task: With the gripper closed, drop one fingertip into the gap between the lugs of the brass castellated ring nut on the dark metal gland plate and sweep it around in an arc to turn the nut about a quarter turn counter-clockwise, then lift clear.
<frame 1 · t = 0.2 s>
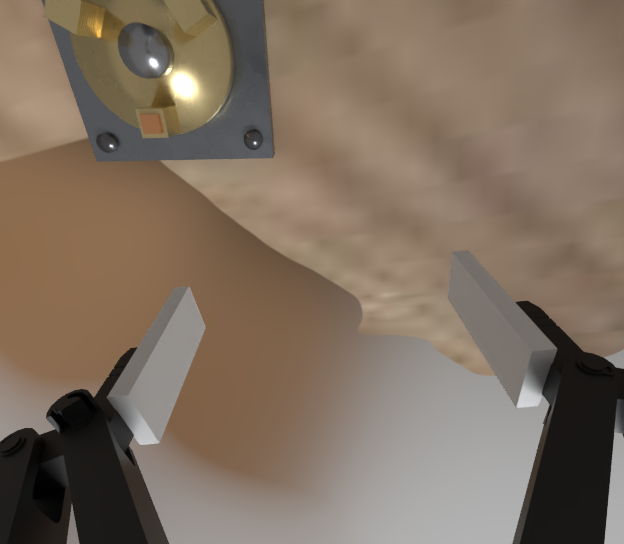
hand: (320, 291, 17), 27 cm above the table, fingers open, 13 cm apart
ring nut: (148, 52, 29), point 5 cm above the table, hinge at 0.0°
gland plate: (170, 55, 34), on the table
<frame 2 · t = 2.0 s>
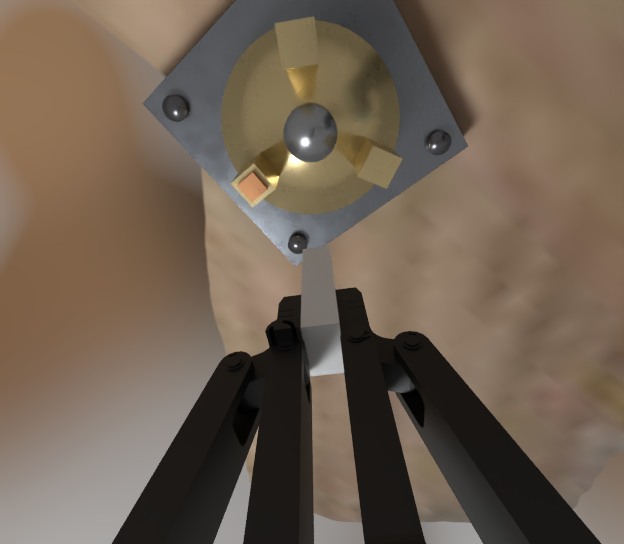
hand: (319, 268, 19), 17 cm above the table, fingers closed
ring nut: (310, 131, 26), point 6 cm above the table, hinge at 0.0°
gland plate: (310, 122, 30), on the table
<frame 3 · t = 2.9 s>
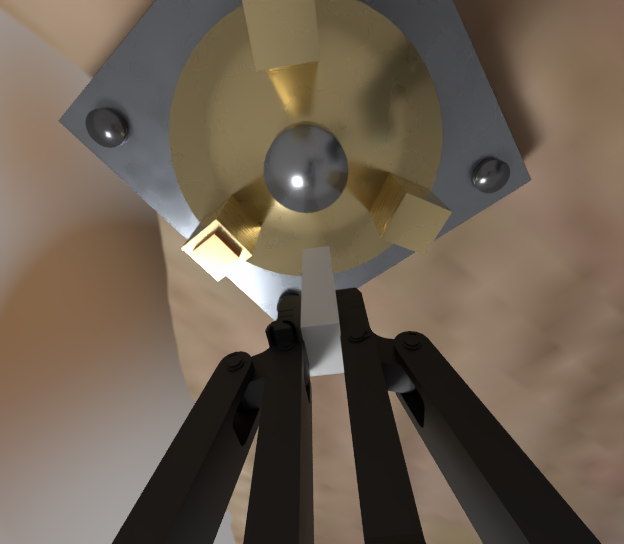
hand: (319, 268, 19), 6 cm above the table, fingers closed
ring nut: (306, 166, 17), point 6 cm above the table, hinge at 0.0°
gland plate: (306, 145, 21), on the table
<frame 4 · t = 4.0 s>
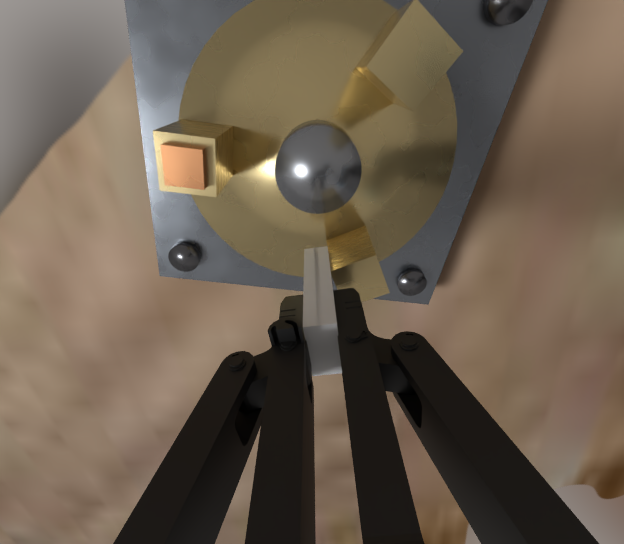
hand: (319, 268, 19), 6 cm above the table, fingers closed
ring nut: (317, 165, 16), point 6 cm above the table, hinge at 0.3°, touching gripper
gland plate: (316, 144, 21), on the table
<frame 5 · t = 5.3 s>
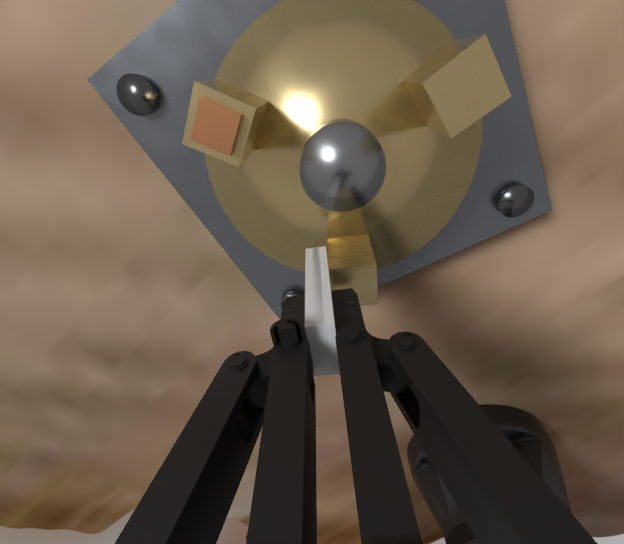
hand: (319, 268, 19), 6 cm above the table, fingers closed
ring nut: (341, 164, 16), point 6 cm above the table, hinge at 37.5°, touching gripper
gland plate: (336, 143, 21), on the table
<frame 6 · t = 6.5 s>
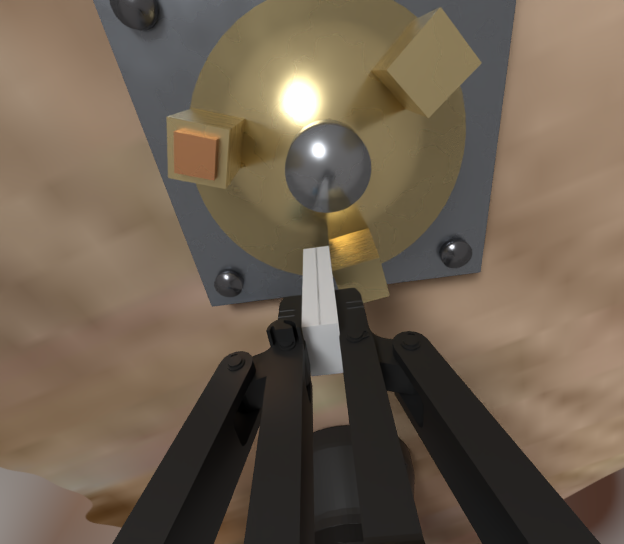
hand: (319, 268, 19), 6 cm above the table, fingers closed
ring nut: (326, 165, 16), point 6 cm above the table, hinge at 70.0°
gland plate: (323, 144, 21), on the table
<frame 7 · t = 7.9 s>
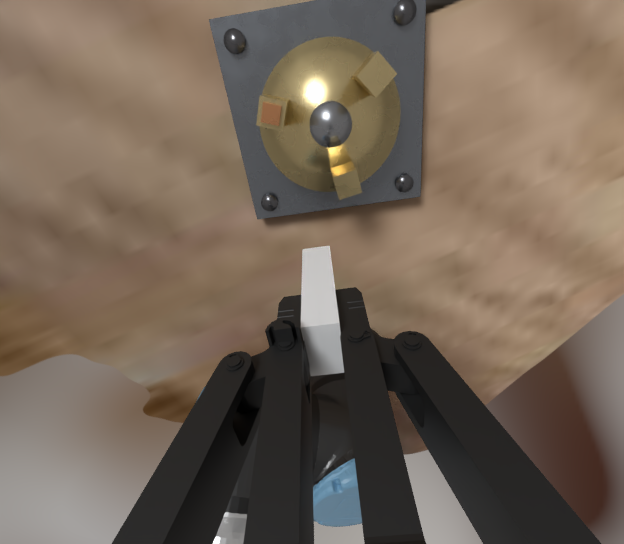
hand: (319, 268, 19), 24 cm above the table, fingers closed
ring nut: (330, 123, 32), point 5 cm above the table, hinge at 70.0°
gland plate: (327, 117, 37), on the table
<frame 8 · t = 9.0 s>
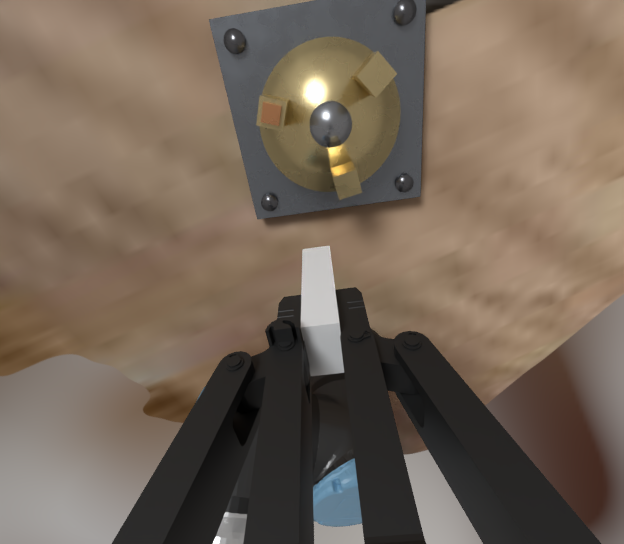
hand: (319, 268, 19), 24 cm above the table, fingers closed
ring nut: (330, 123, 32), point 6 cm above the table, hinge at 70.0°
gland plate: (327, 117, 37), on the table
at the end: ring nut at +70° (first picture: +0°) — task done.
